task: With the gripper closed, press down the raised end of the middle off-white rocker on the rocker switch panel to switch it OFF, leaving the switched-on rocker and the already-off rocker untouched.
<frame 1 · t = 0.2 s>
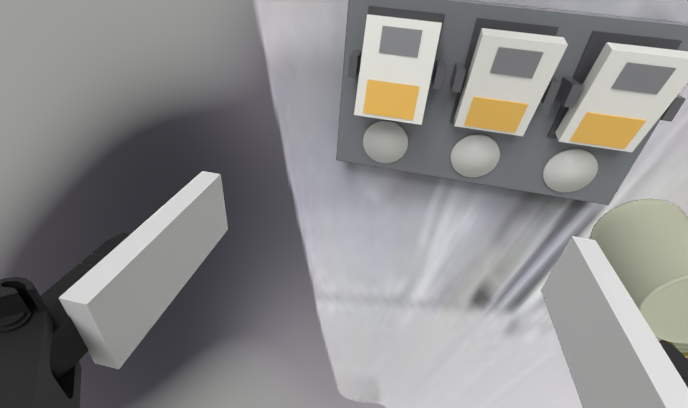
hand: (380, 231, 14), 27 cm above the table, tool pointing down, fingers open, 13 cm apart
rocker 1: (395, 71, 30), point 6 cm above the table, hinge at -13.0°
rocker switch panel: (484, 94, 36), on the table
rocker middle: (503, 86, 29), point 6 cm above the table, hinge at 13.0°
rocker 2: (620, 101, 28), point 6 cm above the table, hinge at 13.0°
can: (635, 231, 41), on the table
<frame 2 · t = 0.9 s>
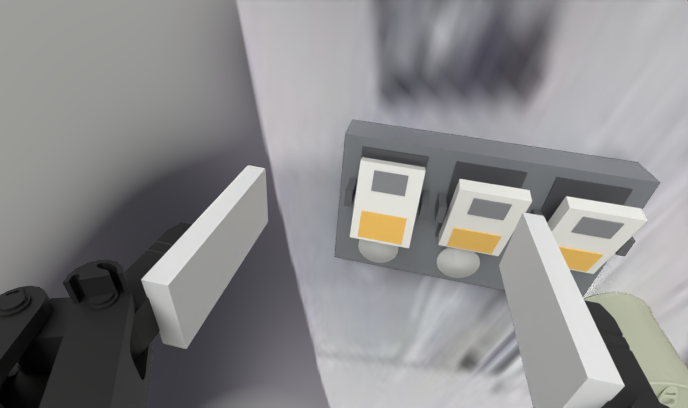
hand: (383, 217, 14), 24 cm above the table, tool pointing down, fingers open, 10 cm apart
rocker 1: (385, 203, 34), point 6 cm above the table, hinge at -13.0°
rocker switch panel: (466, 205, 40), on the table
rocker middle: (480, 220, 33), point 6 cm above the table, hinge at 13.0°
rocker 2: (580, 238, 32), point 6 cm above the table, hinge at 13.0°
can: (605, 316, 45), on the table
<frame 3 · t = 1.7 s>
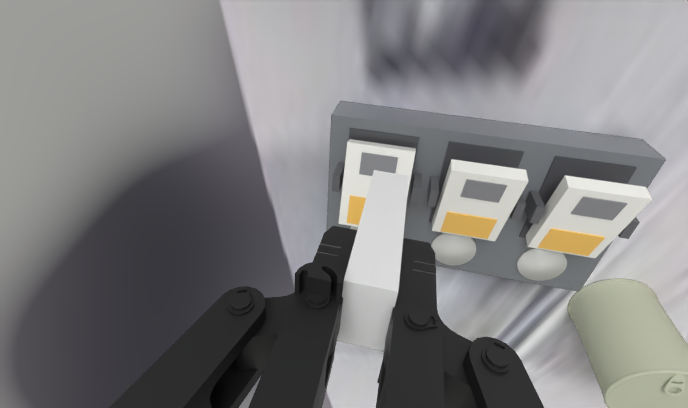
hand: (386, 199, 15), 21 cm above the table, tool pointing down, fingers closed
rocker 1: (375, 187, 33), point 6 cm above the table, hinge at -13.0°
rocker switch panel: (462, 189, 38), on the table
rocker middle: (474, 203, 32), point 6 cm above the table, hinge at 13.0°
rocker 2: (581, 220, 30), point 6 cm above the table, hinge at 13.0°
can: (609, 304, 43), on the table
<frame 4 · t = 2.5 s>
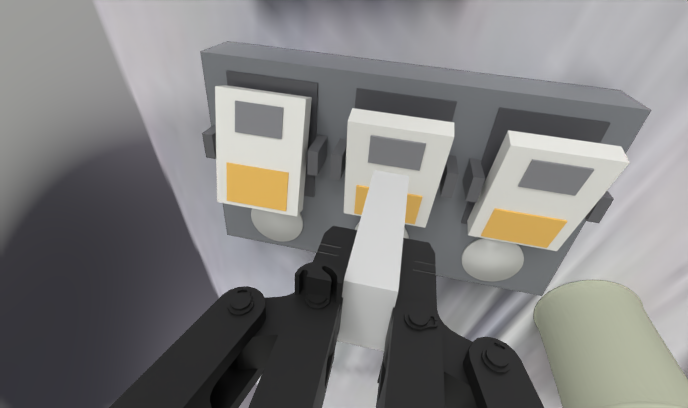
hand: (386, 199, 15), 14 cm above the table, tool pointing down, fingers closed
rocker 1: (261, 152, 24), point 6 cm above the table, hinge at -13.0°
rocker switch panel: (393, 163, 30), on the table
rocker middle: (392, 174, 23), point 6 cm above the table, hinge at 13.0°
rocker 2: (534, 197, 22), point 6 cm above the table, hinge at 13.0°
can: (584, 311, 35), on the table
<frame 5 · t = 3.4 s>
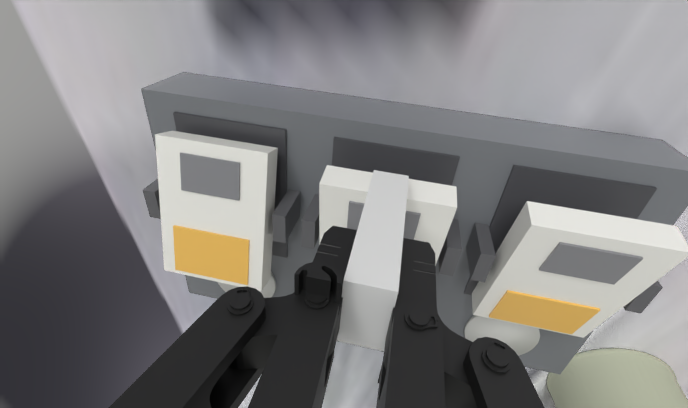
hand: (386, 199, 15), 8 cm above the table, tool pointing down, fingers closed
rocker 1: (217, 213, 19), point 6 cm above the table, hinge at -13.0°
rocker switch panel: (383, 213, 25), on the table
rocker middle: (378, 244, 18), point 6 cm above the table, hinge at 9.8°, touching gripper
rocker 2: (558, 278, 17), point 6 cm above the table, hinge at 13.0°
can: (606, 379, 30), on the table
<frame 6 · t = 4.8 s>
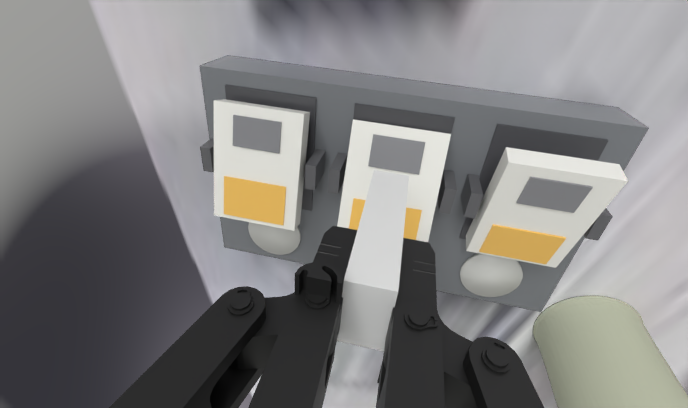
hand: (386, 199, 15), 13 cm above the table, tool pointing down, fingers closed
rocker 1: (259, 166, 24), point 6 cm above the table, hinge at -13.0°
rocker switch panel: (392, 176, 30), on the table
rocker middle: (390, 188, 23), point 6 cm above the table, hinge at -19.8°
rocker 2: (533, 213, 22), point 6 cm above the table, hinge at 13.0°
can: (584, 327, 35), on the table
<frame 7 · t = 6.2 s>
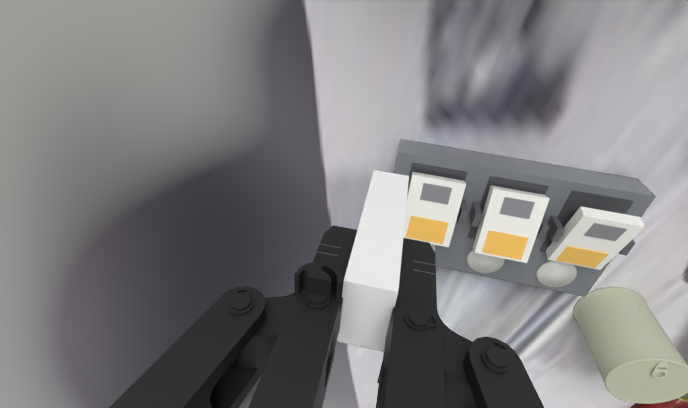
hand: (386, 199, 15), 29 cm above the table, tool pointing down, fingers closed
rocker 1: (430, 210, 42), point 6 cm above the table, hinge at -13.0°
rocker switch panel: (493, 211, 47), on the table
rocker middle: (509, 224, 41), point 6 cm above the table, hinge at -15.0°
rocker 2: (591, 240, 40), point 6 cm above the table, hinge at 13.0°
can: (608, 308, 52), on the table
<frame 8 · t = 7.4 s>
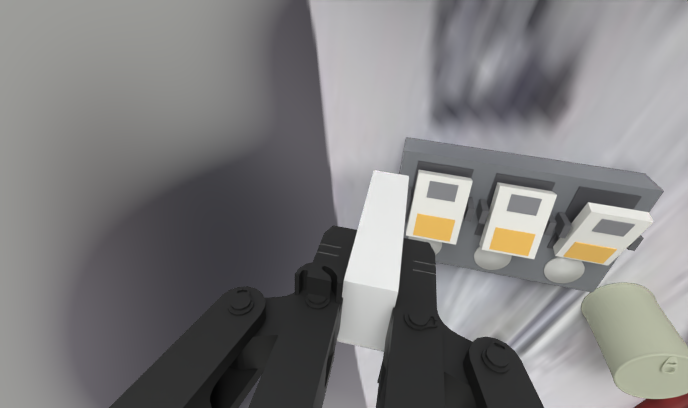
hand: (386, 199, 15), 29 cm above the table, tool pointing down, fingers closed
rocker 1: (437, 207, 42), point 6 cm above the table, hinge at -13.0°
rocker switch panel: (499, 208, 47), on the table
rocker middle: (516, 221, 41), point 6 cm above the table, hinge at -13.7°
rocker 2: (598, 236, 40), point 6 cm above the table, hinge at 13.0°
can: (616, 303, 52), on the table
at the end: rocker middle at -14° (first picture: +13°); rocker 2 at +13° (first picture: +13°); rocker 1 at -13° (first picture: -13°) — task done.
